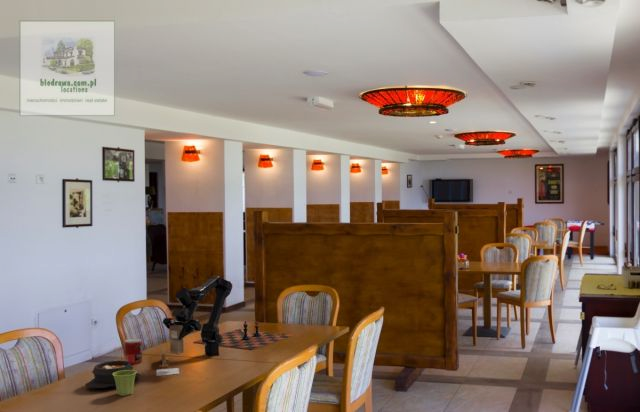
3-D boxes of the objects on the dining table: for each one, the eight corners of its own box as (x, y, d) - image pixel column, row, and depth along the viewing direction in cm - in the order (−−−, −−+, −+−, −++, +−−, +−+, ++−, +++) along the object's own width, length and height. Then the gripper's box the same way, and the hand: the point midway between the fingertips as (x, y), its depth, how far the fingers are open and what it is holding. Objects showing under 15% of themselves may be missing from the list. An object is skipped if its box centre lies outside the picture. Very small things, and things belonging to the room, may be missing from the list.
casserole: (106, 394, 278) (106, 374, 277) (75, 389, 287) (74, 369, 286) (149, 379, 299) (149, 360, 299) (119, 374, 308) (118, 356, 308)
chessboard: (252, 350, 349) (251, 329, 349) (193, 343, 370) (193, 323, 370) (295, 336, 383) (294, 317, 383) (239, 330, 404) (239, 312, 404)
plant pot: (116, 391, 282) (115, 370, 282) (139, 389, 283) (138, 369, 283) (111, 397, 273) (110, 376, 272) (134, 396, 273) (134, 375, 273)
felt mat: (178, 368, 316) (178, 367, 316) (179, 374, 306) (179, 373, 306) (156, 370, 313) (156, 369, 313) (156, 376, 304) (156, 375, 304)
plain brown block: (175, 351, 317) (174, 325, 317) (183, 352, 316) (182, 325, 315) (170, 353, 314) (169, 326, 313) (178, 354, 312) (177, 327, 312)
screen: (168, 359, 333) (167, 347, 333) (168, 366, 320) (167, 354, 319) (159, 360, 332) (159, 348, 332) (159, 367, 319) (159, 354, 318)
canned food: (138, 364, 325) (137, 341, 325) (122, 364, 327) (121, 341, 326) (145, 360, 333) (144, 338, 332) (130, 360, 334) (129, 338, 334)
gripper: (164, 300, 322) (150, 328, 312) (197, 302, 314) (184, 330, 304) (174, 314, 329) (161, 341, 319) (207, 316, 322) (194, 344, 312)
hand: (174, 339), depth 313 cm, fingers closed on plain brown block, 4 cm apart
